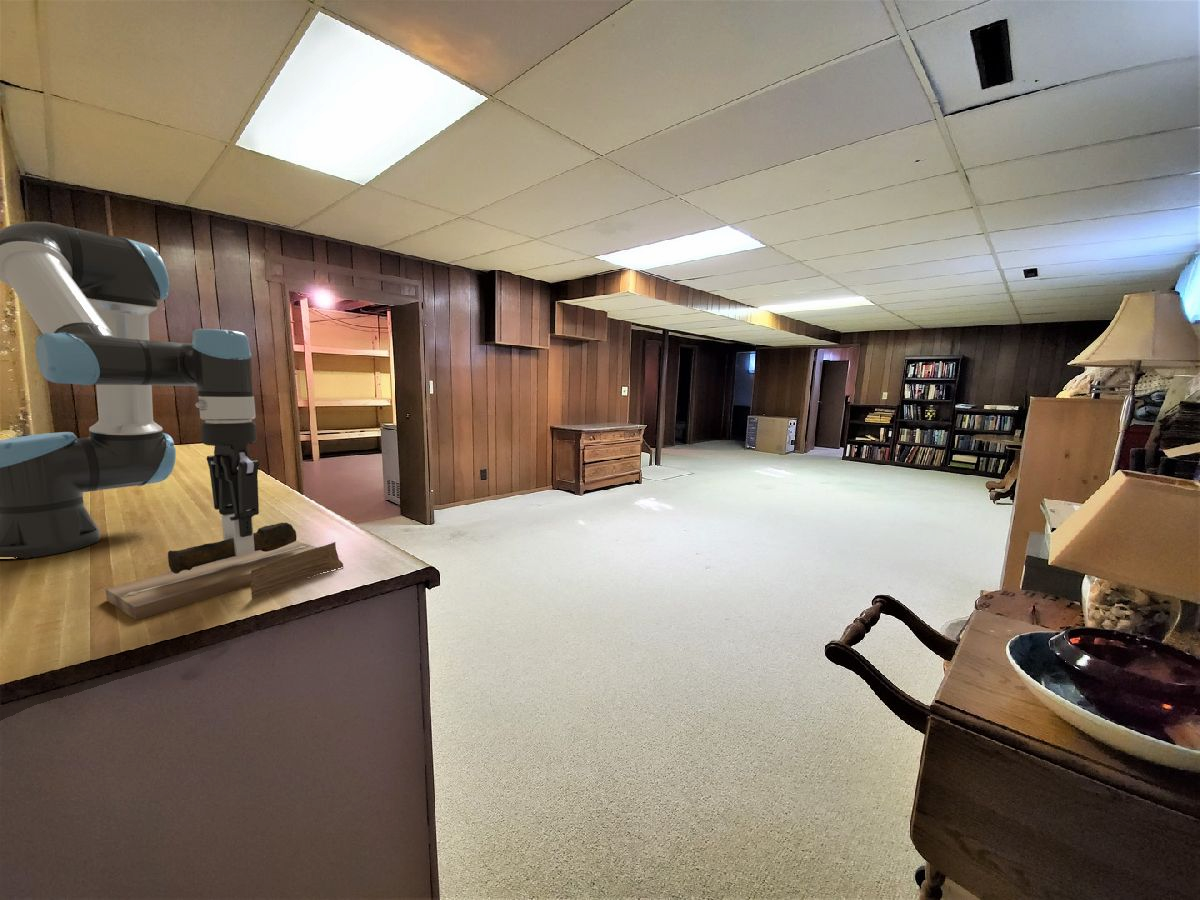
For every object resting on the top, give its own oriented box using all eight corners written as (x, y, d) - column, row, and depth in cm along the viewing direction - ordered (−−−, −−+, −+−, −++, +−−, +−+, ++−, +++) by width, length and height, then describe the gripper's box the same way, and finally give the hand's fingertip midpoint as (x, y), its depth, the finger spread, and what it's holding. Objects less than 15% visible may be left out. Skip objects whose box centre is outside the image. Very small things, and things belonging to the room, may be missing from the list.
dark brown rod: (175, 577, 74) (172, 549, 73) (167, 571, 76) (164, 544, 76) (303, 546, 90) (301, 523, 89) (293, 541, 92) (291, 519, 91)
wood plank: (257, 601, 74) (255, 571, 73) (249, 598, 75) (247, 569, 74) (343, 568, 88) (342, 543, 87) (335, 566, 89) (334, 541, 88)
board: (106, 600, 73) (105, 587, 73) (294, 549, 97) (294, 539, 97) (136, 620, 67) (134, 606, 67) (328, 560, 91) (327, 550, 91)
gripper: (181, 419, 81) (193, 548, 84) (224, 425, 73) (237, 567, 76) (231, 418, 87) (241, 537, 90) (277, 422, 79) (286, 553, 82)
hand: (239, 550), depth 83 cm, fingers closed on dark brown rod, 3 cm apart
